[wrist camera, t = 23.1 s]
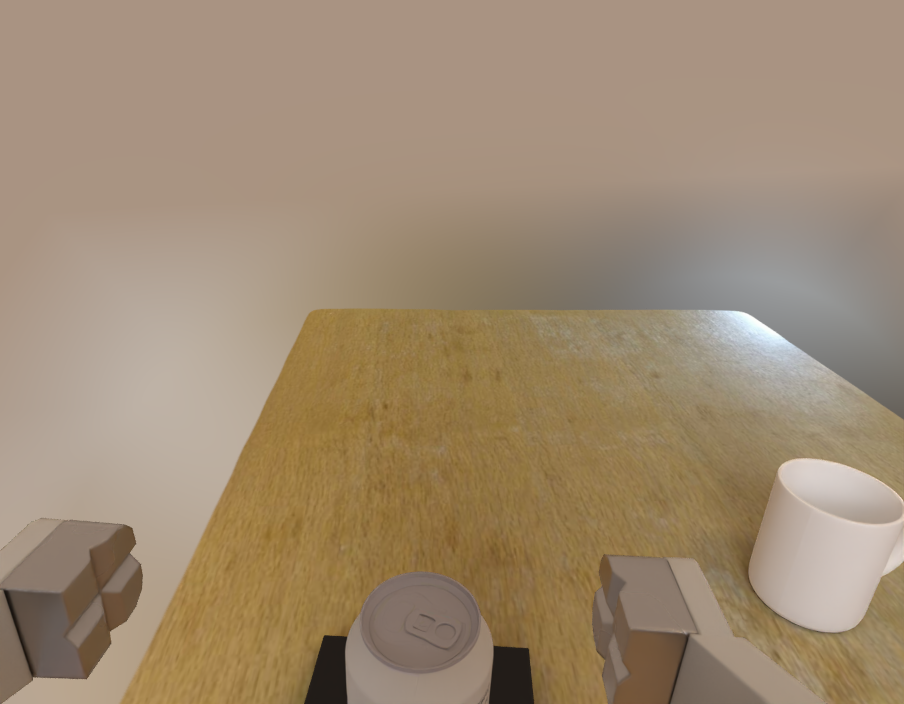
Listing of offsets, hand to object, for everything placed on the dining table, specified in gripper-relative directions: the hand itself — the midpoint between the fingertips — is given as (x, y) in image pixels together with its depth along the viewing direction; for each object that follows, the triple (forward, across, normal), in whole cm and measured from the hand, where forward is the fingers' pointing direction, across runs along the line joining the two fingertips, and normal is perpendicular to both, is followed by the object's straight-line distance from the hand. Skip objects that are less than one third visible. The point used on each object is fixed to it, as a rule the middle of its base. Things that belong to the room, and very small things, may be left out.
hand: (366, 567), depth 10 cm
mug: (+29, -32, +28) cm, 52 cm away
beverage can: (+12, 0, +26) cm, 29 cm away
